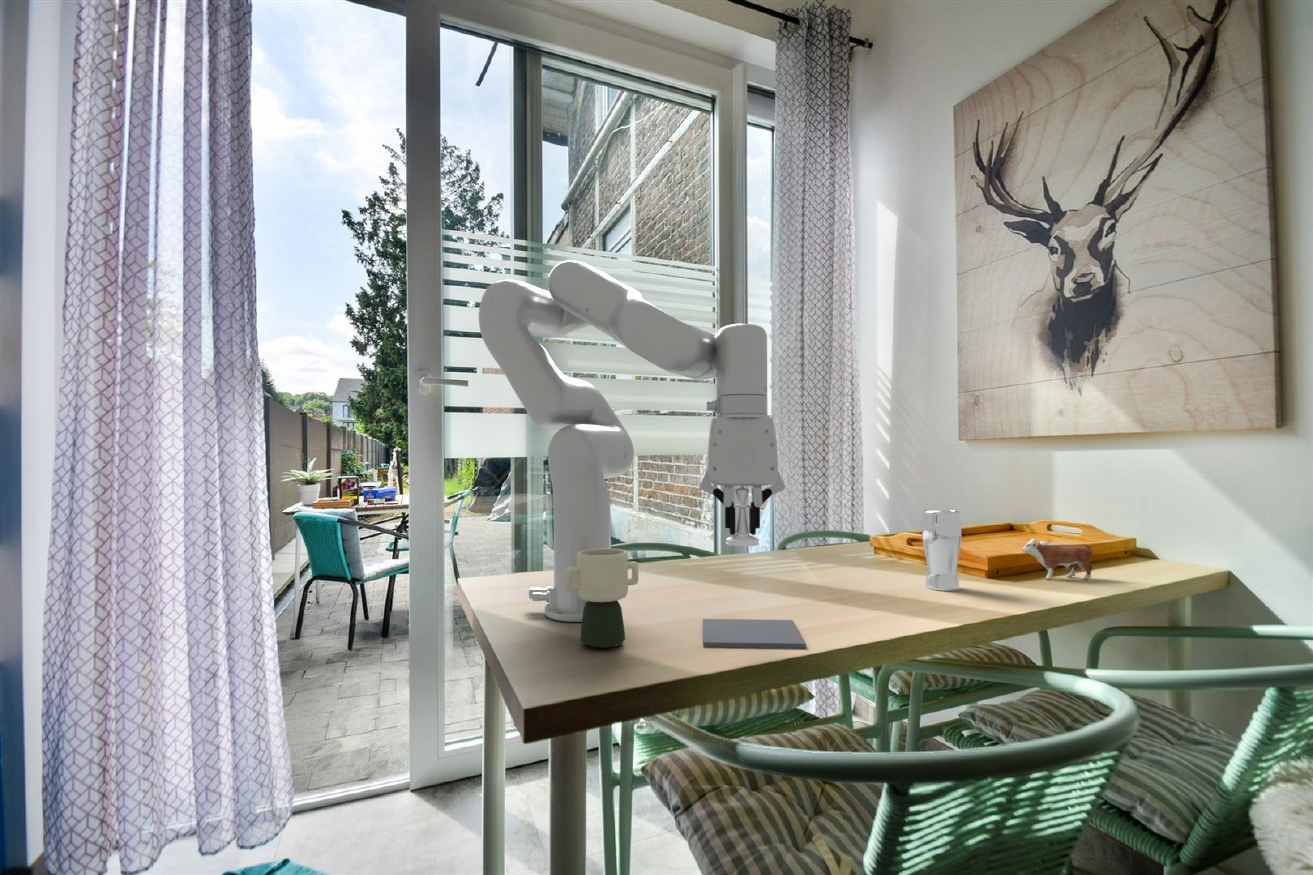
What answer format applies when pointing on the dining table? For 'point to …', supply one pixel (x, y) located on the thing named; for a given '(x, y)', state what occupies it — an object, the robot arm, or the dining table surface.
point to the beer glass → (941, 548)
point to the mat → (751, 633)
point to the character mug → (602, 593)
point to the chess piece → (742, 523)
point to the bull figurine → (1061, 556)
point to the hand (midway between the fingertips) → (742, 532)
